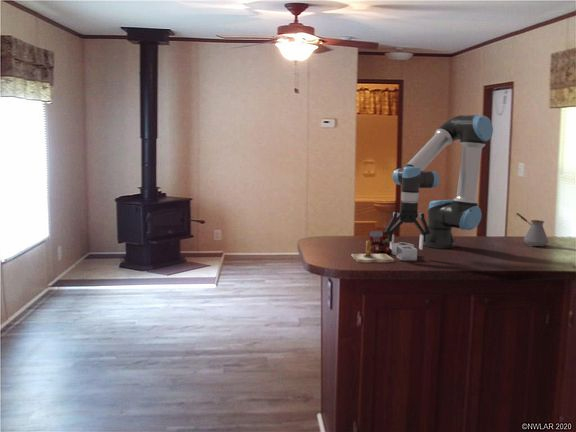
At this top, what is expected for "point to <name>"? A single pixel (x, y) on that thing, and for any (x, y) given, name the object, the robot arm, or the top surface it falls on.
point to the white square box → (406, 253)
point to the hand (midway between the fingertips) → (406, 249)
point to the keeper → (371, 256)
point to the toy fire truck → (379, 241)
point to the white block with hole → (399, 245)
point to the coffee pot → (535, 233)
